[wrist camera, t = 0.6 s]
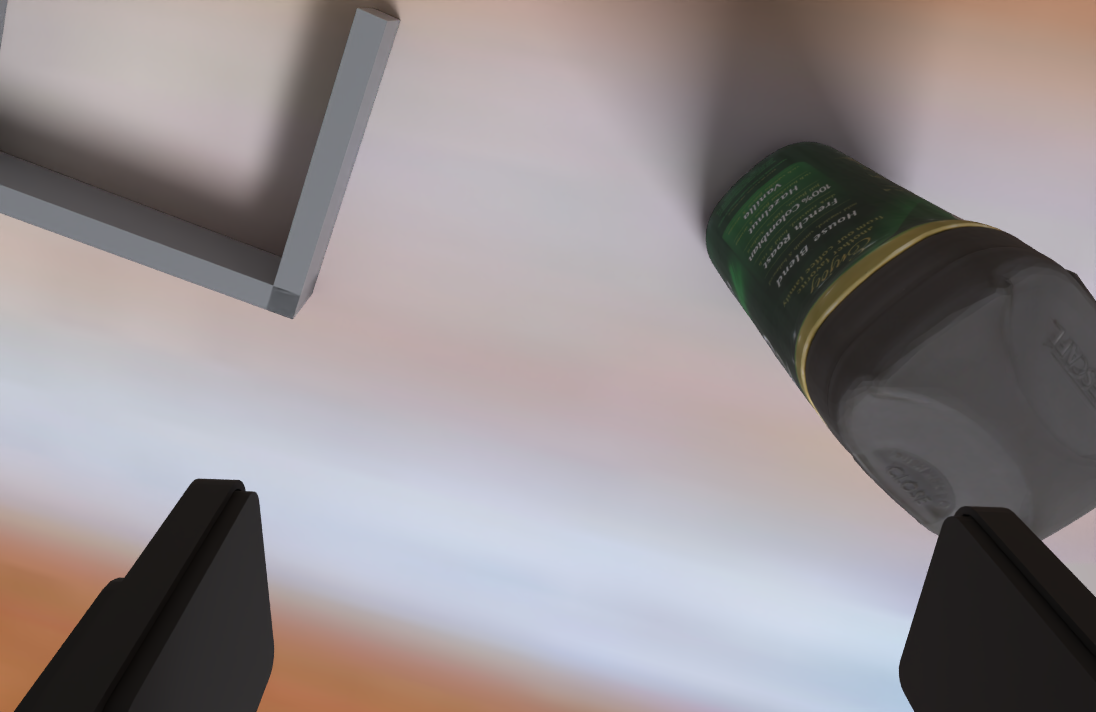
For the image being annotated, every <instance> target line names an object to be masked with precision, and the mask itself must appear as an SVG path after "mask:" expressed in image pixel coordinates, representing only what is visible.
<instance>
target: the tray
mask: <svg viewBox="0 0 1096 712" xmlns="http://www.w3.org/2000/svg"><path fill="white" fill-rule="evenodd" d="M6 6H7V0H0V47H1V41H2V34H3V27H4V20H5V13H6ZM399 23H400V20H399V19H397V18H395V17H392V16H390V15H388V14H386V13H383V12H381V11H379V10H377V9H374V8H357V10H356V14H355V17H354V20H353V24H352V27H351V30H350V34H349V37H348V40H347V43H346V47H345V50H344V53H343V57H342V60H341V63H340V67H339V70H338V73H337V77H336V80H335V83H334V87H333V90H332V93H331V96H330V100H329V103H328V106H327V110H326V113H325V116H324V120H323V123H322V126H321V130H320V133H319V136H318V139H317V143H316V146H315V149H314V153H313V156H312V159H311V163H310V166H309V169H308V173H307V176H306V179H305V183H304V186H303V189H302V192H301V196H300V199H299V202H298V206H297V209H296V212H295V216H294V219H293V222H292V226H291V229H290V232H289V236H288V239H287V242H286V245H285V249H284V252H283V255H282V257H280V256H277V255H274V254H272V253H269V252H266V251H264V250H261V249H258V248H256V247H253V246H250V245H248V244H245V243H242V242H240V241H237V240H234V239H232V238H229V237H226V236H224V235H221V234H219V233H216V232H213V231H211V230H208V229H205V228H203V227H200V226H197V225H195V224H192V223H189V222H187V221H184V220H181V219H179V218H176V217H173V216H171V215H168V214H165V213H163V212H160V211H157V210H155V209H152V208H150V207H147V206H144V205H142V204H139V203H136V202H134V201H131V200H128V199H126V198H123V197H120V196H118V195H115V194H112V193H110V192H107V191H104V190H102V189H99V188H96V187H94V186H91V185H88V184H86V183H83V182H81V181H78V180H75V179H73V178H70V177H67V176H65V175H62V174H59V173H57V172H54V171H51V170H49V169H46V168H43V167H41V166H38V165H35V164H33V163H30V162H27V161H25V160H22V159H19V158H17V157H14V156H12V155H9V154H6V153H4V152H1V151H0V213H2V214H5V215H7V216H10V217H13V218H16V219H18V220H21V221H24V222H27V223H29V224H32V225H35V226H38V227H40V228H43V229H46V230H49V231H51V232H54V233H57V234H60V235H62V236H65V237H68V238H71V239H73V240H76V241H79V242H82V243H84V244H87V245H90V246H93V247H95V248H98V249H101V250H104V251H106V252H109V253H112V254H115V255H117V256H120V257H123V258H126V259H128V260H131V261H134V262H137V263H139V264H142V265H145V266H148V267H150V268H153V269H156V270H159V271H161V272H164V273H167V274H170V275H172V276H175V277H178V278H181V279H183V280H186V281H189V282H192V283H194V284H197V285H200V286H203V287H205V288H208V289H211V290H214V291H216V292H219V293H222V294H225V295H227V296H230V297H233V298H236V299H238V300H241V301H244V302H247V303H249V304H252V305H255V306H258V307H260V308H263V309H266V310H269V311H271V312H274V313H277V314H280V315H282V316H285V317H288V318H291V319H293V318H294V317H295V316H296V314H297V313H298V312H299V310H300V309H301V308H302V306H303V305H304V304H305V302H306V301H307V300H308V298H309V297H310V296H311V294H312V293H313V289H314V286H315V283H316V280H317V277H318V274H319V271H320V268H321V265H322V262H323V259H324V255H325V252H326V249H327V246H328V243H329V240H330V237H331V234H332V231H333V228H334V224H335V221H336V218H337V215H338V212H339V209H340V206H341V203H342V200H343V197H344V193H345V190H346V187H347V184H348V181H349V178H350V175H351V172H352V169H353V166H354V163H355V159H356V156H357V153H358V150H359V147H360V144H361V141H362V138H363V135H364V132H365V128H366V125H367V122H368V119H369V116H370V113H371V110H372V107H373V104H374V101H375V98H376V94H377V91H378V88H379V85H380V82H381V79H382V76H383V73H384V70H385V67H386V63H387V60H388V57H389V54H390V51H391V48H392V45H393V42H394V39H395V36H396V33H397V29H398V26H399Z"/></svg>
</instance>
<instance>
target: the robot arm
mask: <svg viewBox="0 0 1096 712" xmlns="http://www.w3.org/2000/svg"><path fill="white" fill-rule="evenodd" d="M273 659H274V640H273V631H272V621H271V611H270V602H269V592H268V582H267V573H266V563H265V553H264V543H263V534H262V524H261V514H260V505H259V498H258V495H257V493H256V492H251V491H245V487H244V484H243V482H241V481H240V480H222V479H195V480H194V481H193V482H192V483H191V484H190V486H189V487H188V488H187V490H186V491H185V493H184V494H183V496H182V497H181V498H180V500H179V501H178V503H177V504H176V505H175V507H174V508H173V510H172V511H171V513H170V514H169V515H168V517H167V518H166V520H165V521H164V523H163V524H162V525H161V527H160V528H159V530H158V531H157V532H156V534H155V535H154V537H153V538H152V540H151V541H150V542H149V544H148V545H147V547H146V548H145V549H144V551H143V552H142V554H141V555H140V557H139V558H138V559H137V561H136V562H135V564H134V565H133V567H132V568H131V569H130V571H129V572H128V574H127V575H126V576H125V578H117V579H114V580H112V581H110V582H109V583H108V585H107V586H106V587H105V588H104V589H103V590H102V591H101V593H100V594H99V595H98V597H97V598H96V599H95V601H94V602H93V604H92V605H91V606H90V608H89V609H88V610H87V612H86V613H85V615H84V616H83V617H82V619H81V620H80V621H79V623H78V624H77V626H76V627H75V628H74V630H73V631H72V632H71V634H70V635H69V637H68V638H67V639H66V641H65V642H64V643H63V645H62V646H61V648H60V649H59V650H58V652H57V653H56V654H55V656H54V657H53V659H52V660H51V661H50V663H49V664H48V665H47V667H46V668H45V670H44V671H43V672H42V674H41V675H40V676H39V678H38V679H37V680H36V682H35V683H34V685H33V686H32V687H31V689H30V690H29V691H28V693H27V694H26V696H25V697H24V698H23V700H22V701H21V702H20V704H19V705H18V707H17V708H16V709H15V711H14V712H256V711H257V709H258V706H259V703H260V701H261V698H262V696H263V693H264V690H265V688H266V685H267V683H268V680H269V677H270V674H271V671H272V666H273ZM899 678H900V683H901V687H902V689H903V692H904V694H905V696H906V697H907V699H908V701H909V703H910V705H911V706H912V708H913V710H914V712H1096V597H1095V596H1094V595H1093V594H1092V593H1091V592H1090V591H1089V590H1088V589H1087V588H1086V587H1085V586H1084V585H1083V584H1082V583H1081V581H1079V580H1078V578H1077V577H1076V576H1075V575H1074V574H1073V573H1072V572H1071V571H1070V570H1069V569H1068V568H1067V567H1066V566H1065V565H1064V564H1063V563H1062V562H1061V561H1060V560H1059V559H1058V558H1057V557H1056V556H1055V555H1054V553H1053V552H1052V551H1051V550H1050V549H1049V548H1048V547H1047V546H1046V545H1045V544H1044V543H1043V542H1042V541H1041V540H1040V539H1039V538H1038V537H1037V536H1036V535H1035V534H1034V533H1033V532H1032V531H1031V530H1030V529H1029V528H1028V527H1027V525H1026V524H1025V523H1024V522H1023V521H1022V520H1021V519H1020V518H1019V517H1018V516H1017V515H1016V514H1015V513H1014V512H1012V511H1011V510H1010V509H1008V508H1004V507H981V506H963V507H961V508H959V509H958V510H957V511H956V513H955V515H954V516H950V517H947V518H946V519H945V520H944V522H943V524H942V527H941V530H940V533H939V537H938V540H937V543H936V546H935V550H934V553H933V556H932V559H931V563H930V566H929V569H928V572H927V576H926V579H925V582H924V585H923V589H922V592H921V595H920V598H919V602H918V605H917V608H916V611H915V615H914V618H913V621H912V624H911V628H910V631H909V634H908V637H907V641H906V644H905V647H904V650H903V654H902V657H901V660H900V665H899Z"/></svg>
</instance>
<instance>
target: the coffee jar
mask: <svg viewBox="0 0 1096 712" xmlns="http://www.w3.org/2000/svg"><path fill="white" fill-rule="evenodd" d="M706 245H707V251H708V254H709V257H710V259H711V261H712V263H713V265H714V266H715V268H716V269H717V271H718V273H719V274H720V276H721V277H722V279H723V280H724V282H725V283H726V285H727V286H728V288H729V289H730V291H731V292H732V293H733V295H734V296H735V298H736V299H737V300H738V302H739V303H740V305H741V306H742V307H743V309H744V310H745V312H746V313H747V314H748V316H749V317H750V318H751V320H752V321H753V323H754V324H755V326H756V327H757V329H758V330H759V332H760V333H761V335H762V336H763V338H764V339H765V341H766V342H767V344H768V345H769V347H770V348H771V350H772V351H773V353H774V354H775V356H776V357H777V359H778V360H779V361H780V363H781V364H782V366H783V367H784V368H785V370H786V371H787V373H788V374H789V375H790V377H791V378H792V380H793V381H794V382H795V384H796V385H797V386H798V388H799V389H800V391H801V392H802V393H803V395H804V396H805V397H806V399H807V400H808V402H809V403H810V404H811V405H812V407H813V408H814V409H815V410H816V412H817V413H818V415H819V416H820V418H821V419H822V420H823V422H824V423H825V424H826V425H827V427H828V428H829V429H830V431H831V432H832V433H833V435H834V436H835V437H836V438H837V440H838V441H839V442H840V443H841V444H842V445H843V447H844V448H845V449H846V450H847V451H848V452H849V453H850V454H851V455H852V456H853V458H854V460H855V461H856V462H857V463H858V464H859V466H860V467H861V468H862V469H863V470H864V471H865V472H866V473H867V474H868V475H869V476H870V478H872V479H873V480H874V481H875V483H876V484H877V485H879V486H880V487H881V488H882V489H883V490H884V491H885V492H886V493H887V494H888V495H889V496H890V497H891V498H892V499H893V500H894V501H895V502H897V503H898V504H899V505H900V506H901V507H902V508H903V509H905V510H906V511H907V512H908V513H909V514H910V515H911V516H912V517H914V518H915V519H916V520H917V521H918V522H919V523H920V524H922V525H923V526H924V527H926V528H927V529H928V530H930V531H931V532H933V533H935V534H937V535H938V536H939V533H940V530H941V527H942V524H943V522H944V520H945V519H946V518H947V517H950V516H954V515H955V513H956V511H957V510H958V509H959V508H961V507H963V506H981V507H1004V508H1008V509H1010V510H1011V511H1012V512H1014V513H1015V514H1016V515H1017V516H1018V517H1019V518H1020V519H1021V520H1022V521H1023V522H1024V523H1025V524H1026V525H1027V527H1028V528H1029V529H1030V530H1031V531H1032V532H1033V533H1034V534H1035V535H1036V536H1037V537H1038V538H1039V539H1040V540H1043V539H1045V538H1047V537H1048V536H1050V535H1052V534H1054V533H1055V532H1057V531H1059V530H1061V529H1062V528H1064V527H1065V526H1067V525H1069V524H1070V523H1072V522H1074V521H1075V520H1077V519H1079V518H1080V517H1082V516H1083V515H1085V514H1086V513H1088V512H1090V511H1091V510H1093V509H1094V508H1096V300H1095V299H1094V298H1093V296H1092V295H1091V293H1090V292H1089V291H1088V289H1087V288H1086V287H1085V285H1084V284H1083V282H1082V281H1081V279H1080V278H1079V277H1078V275H1077V274H1076V273H1073V272H1071V271H1069V270H1066V269H1064V268H1063V267H1062V266H1061V265H1059V264H1058V263H1056V262H1055V261H1053V260H1052V259H1050V258H1049V257H1047V256H1045V255H1043V254H1041V253H1040V252H1038V251H1036V250H1035V249H1033V248H1032V247H1030V246H1028V245H1027V244H1025V243H1024V242H1022V241H1021V240H1019V239H1018V238H1016V237H1014V236H1012V235H1010V234H1008V233H1006V232H1004V231H1002V230H1000V229H998V228H995V227H992V226H989V225H985V224H982V223H978V222H972V221H966V220H963V219H961V218H959V217H957V216H955V215H953V214H951V213H949V212H947V211H945V210H943V209H941V208H940V207H938V206H936V205H934V204H932V203H930V202H929V201H927V200H925V199H923V198H921V197H919V196H917V195H915V194H914V193H912V192H910V191H908V190H906V189H905V188H903V187H901V186H899V185H897V184H895V183H893V182H892V181H890V180H888V179H886V178H884V177H883V176H881V175H879V174H878V173H876V172H874V171H873V170H871V169H869V168H867V167H866V166H864V165H862V164H861V163H859V162H857V161H856V160H854V159H852V158H850V157H848V156H847V155H845V154H843V153H841V152H839V151H837V150H835V149H833V148H831V147H829V146H826V145H824V144H820V143H815V142H801V143H795V144H792V145H788V146H785V147H783V148H781V149H779V150H777V151H776V152H774V153H772V154H771V155H769V156H768V157H767V158H765V159H764V160H762V161H761V162H760V163H758V164H757V165H756V166H755V167H754V168H753V169H751V170H750V171H749V172H748V173H747V174H745V175H744V176H743V177H742V178H741V179H740V180H739V181H738V182H737V183H736V184H735V185H734V186H733V187H732V188H731V189H730V190H729V191H728V192H727V193H726V195H725V196H724V197H723V198H722V199H721V201H720V202H719V203H718V205H717V206H716V208H715V209H714V211H713V213H712V215H711V217H710V219H709V222H708V226H707V231H706Z"/></svg>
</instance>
